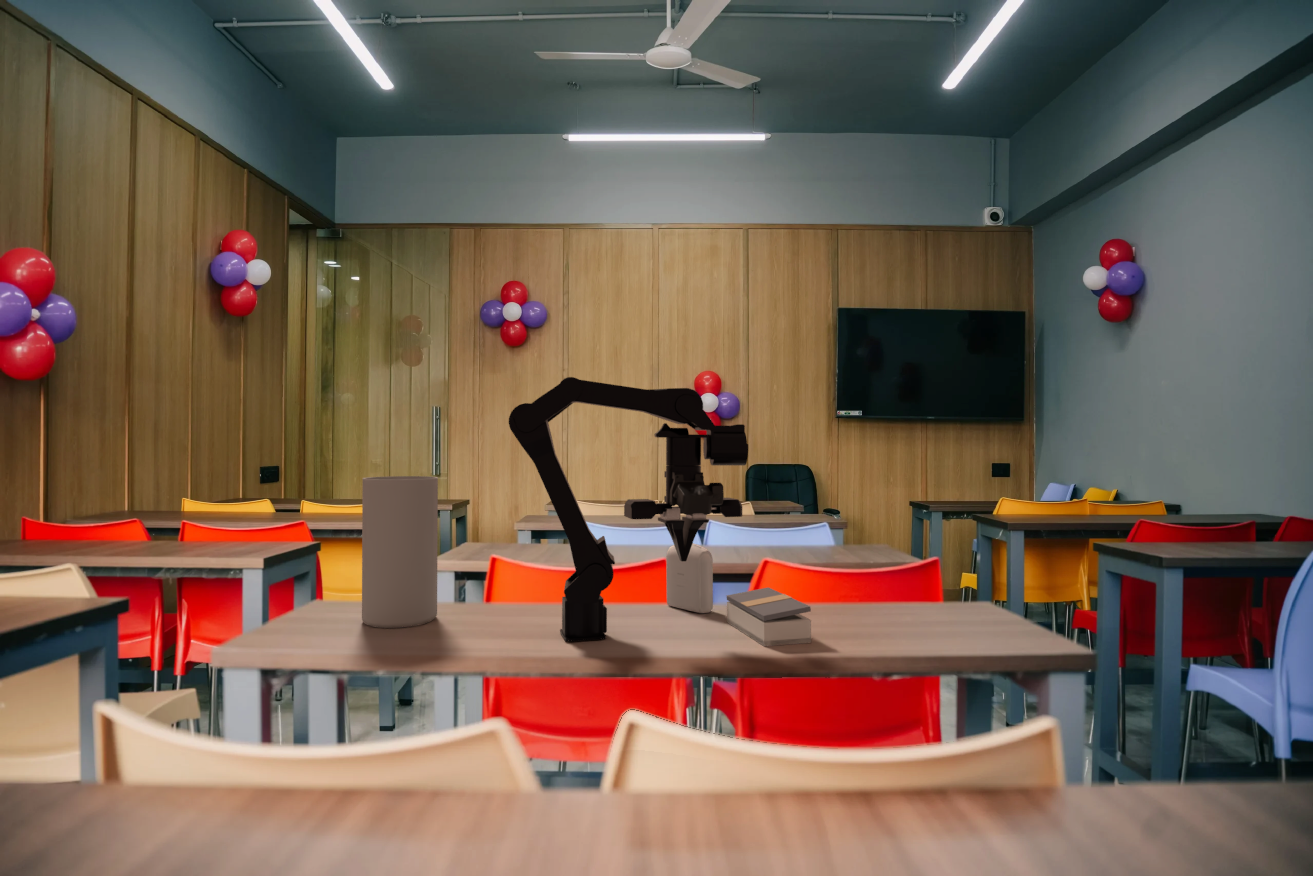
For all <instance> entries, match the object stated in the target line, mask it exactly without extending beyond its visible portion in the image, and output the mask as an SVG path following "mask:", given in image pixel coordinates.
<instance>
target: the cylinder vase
mask: <svg viewBox="0 0 1313 876" xmlns="http://www.w3.org/2000/svg"><path fill="white" fill-rule="evenodd" d="M438 486H439V477H437V476H428V475H427V476H425V475H424V476H423V475H422V476H420V475H398V476H397V475H396V476H395V475H393V476H388V475H387V476H371V477H362V506H361V508H362V510H361V511H362V514H361V515H362V517H361V519H362V521H361V522H362V524H361V526H362V527H361V528H362V530H361V531H362V533H361V534H362V535H361V536H362V537H361V539H362V540H361V541H362V542H361V545H362V546H361V547H362V548H361V551H362V552H361V555H362V556H361V571H362V573H361V620H362V622H363V623H364V624H365V625H367V626H369V627H373V628H381V629H382V628H383V629H396V628H397V629H399V628H409V627H410V628H411V627H414V626H415V627H416V626H420V625H424V624H427V623H430V622H431V621H433V620H435V619H436V617H437V615H438V544H439V543H438V541H439V540H438V538H439V537H438V535H439V533H438V529H439V528H438V527H439V526H438V519H439V517H438V513H439V511H438V507H439V506H438V505H439V503H438V502H439V501H438V500H439V497H438V495H439V492H438V489H439V487H438Z"/></svg>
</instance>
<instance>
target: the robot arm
mask: <svg viewBox="0 0 1313 876" xmlns="http://www.w3.org/2000/svg"><path fill="white" fill-rule="evenodd" d="M576 403H579V404H585V405H591V406H597V407H598V406H600V407H605V408H612V409H620V410H625V411H626V410H627V411H632V412H633V411H635V412H640V413H644V414H648V415H650V416H653V417H657V418H659V419H661V420H664V421H668V422H671V423H673V424H677V425H688V426H689V427H690V428H692V429H693V430H695V431H706V434H690V433H689V429H688V427H670V426H669V425H668V423H667V422H665V423H663V424H662V426H661V427H660V429H658V431H656V432H655V433H654V435H653V436H654V437H655V438H659V439H661V438H663V439H665V438H666V439H665V442H666V443H665V447H666V448H665V449H666V450H665V471H664V474H663V475H664V478H665V495H664V497H663V499H664V502H656V501H655V500H653V499H648V498H636V499H634V498H632V499H631V498H629V499H627V500H626V501H625V502H624V505H623V506H624V508H623V514H624V515H623V516H624V517H625V518H628V519H630V520H652V519H653V518H654V517H655V516H656V515H659V517H657V521H658V522H660V523H663V524H664V526H665V527H666V529H667V531H668V534H669V535H670V537H671V540H672V542H673V545H674V546H675V548H676V551H677V554H678V557H679V559H680V561H687V558H688V555H689V552H690V549H691V546H692V543H694V541H695V538H696V535H697V533H698V532H699V530H700V528H702V526H703V525H704V524H708V523H709V522H710V519H709V518H707V515H710V514H713V515H714V514H715V515H717V514H718V515H720V514H721V515H722V516H723V517H724V518H740V517H741V518H742V517H743V505H742V502H741V501H740V500H739V499H737V498H734V497H733V498H732V497H724V484H722V483H721V482H709V483H708V484H705V479H704V472H703V471H702V450H703V458H704V460H709V463H710V465H711V466H746V465H747V462H748V458H749V444H748V439H747V435H746V431H745V428H746V425H745V424H742V423H741V424H738V423H737V424H733V425H716V424H714V422H713V421H712V419H711V418H710V417H709V415H708V414H707V412H706V411H705V410H704V402H703V399H702V397H701V395H700V394H699V393H698V391H697V390H694V389H692V388H690V387H689V388H688V387H677V388H673V387H672V388H671V387H670V388H656V389H655V388H653V389H645V388H639V387H631V386H625V385H620V384H619V385H617V384H611V383H604V382H598V381H592V380H585V379H579V378H576V377H573V376H568V377H565V378H563V379H562V380H561V381H560V382H559V383H558V384H557V385H556V386H554V387H553V388H551V389H550V390H549V391H547V392H545V393H544V394H542V395H541V396H538V398H537V399H535V400H533V401H532V402H530V403H529V402H528V403H527V402H526V403H521V404H519V405H517V406H515V407H514V408H513V409H512V410H511V412H510V414H509V416H508V426H509V429H510V431H511V433H512V434H513V436H514V437H515V439H516V440H517V441H518V443H519V444H520V446H521V447H522V449H523V450H524V451H525V452H526V454H527V455H528V456H529V458H530V459H531V461H532V462H533V464H534V466H535V468H536V470H537V472H538V474H539V477H540V479H541V481H542V484H543V486H544V488H545V491H546V492H547V495H548V497H549V499H550V502H551V504H552V506H553V508H554V510H555V513H556V515H557V517H558V520H559V521H560V524H561V526H562V528H563V531H564V533H565V536H566V537H567V539H568V542H569V547H570V551H571V552H570V553H571V556H572V557H571V558H572V561H573V564H574V565H573V566H574V569H575V571H574V572H573V573H572V574H571V575H570V576H569V577H568V578H567V579H566V580H565V584H564V590H563V594H564V596H562V598H561V599H562V600H561V601H562V603H561V609H562V610H561V622H562V623H561V628H560V629H559V633H560V635H561V636H562V638H563V640H564V641H565V642H580V641H595V640H597V641H598V640H605V639H607V635H606V633H607V631H608V628H607V627H608V612H607V611H608V607H606V606H605V605H604V597H603V596H602V595H601V594H602V591H604V590H606V589H607V588H609V586H610V585H611V583H612V582H613V579H614V568H613V565H615V564H616V561H615V557H614V555H613V554H612V553H611V552H610V551H609V548H608V546H607V542H606V539H605V536H604V535H602V536H600V537H599V538H598V539H597V538H596V537H595V534H593V533H592V531H591V530H590V527H589V525H588V523H587V521H586V519H585V517H584V514H583V512H582V509H581V508H580V505H579V503H578V501H577V499H576V496H575V494H574V492H573V490H572V487H571V486H570V483H569V481H568V479H567V477H566V474H565V472H564V469H563V467H562V465H561V463H560V461H559V458H558V456H557V454H556V450H555V445H554V440H553V437H552V432H551V429H550V424H549V422H551V421H552V420H553V419H554V418H556V417H558V416H559V415H560V414H561V413H562V412H564V411H565V410H566V409H568V408H569V407H570V406H571V405H573V404H576ZM702 439H703V445H702ZM702 446H703V447H702ZM702 448H703V449H702ZM681 514H682V515H685V516H682V517H681Z"/></svg>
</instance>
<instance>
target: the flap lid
mask: <svg viewBox="0 0 1313 876" xmlns="http://www.w3.org/2000/svg"><path fill="white" fill-rule="evenodd" d="M725 597H726V600H727V602H731V603H733V604H735V605H737V606H738V607H740V608H742V609H744V610H746V611H747V612H749V613H751V614H753V615H754V616H756V617H758V618H760V619H761V620H763V621H767V620H772V619H776V618H781V617H786V616H791V615H796V614H800V615H802V614H806V613H809V612H811V611H812V610H811V606H810V605H808V604H806V603H804V602H802V601H800V600H797V599H795V598H793V597H792V596H790V595H787V594H786V593H782V592H779V591H778V590H775V589H773V588H771V587H763V588H758V589H753V590H748V591H743V592H738V593H737V592H736V593H732V594H727V595H725Z"/></svg>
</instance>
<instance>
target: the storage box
mask: <svg viewBox="0 0 1313 876" xmlns="http://www.w3.org/2000/svg"><path fill="white" fill-rule="evenodd" d="M726 623H727V624H729V625H730V626H732V627H734V628H735V629H736V630H738V631H740V632H741V633H743V634H744V635H746V636H747V637H749V638H750V639H752V640H753V641H755V642H756V643H758V644H760V645H762V646H763V647H773V646H786V645H796V644H797V645H798V644H799V645H800V644H811V643H812V619H810V618H809V617H806V616H804V615H802V614H796V615H791V616H786V617H781V618H776V619H772V620H767V621H763V620H761V619H760V618H758V617H756V616H754V615H753V614H751V613H749V612H747V611H746V610H744V609H742V608H740V607H738V606H737V605H735V604H733V603H731V602H730V601H726Z"/></svg>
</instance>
